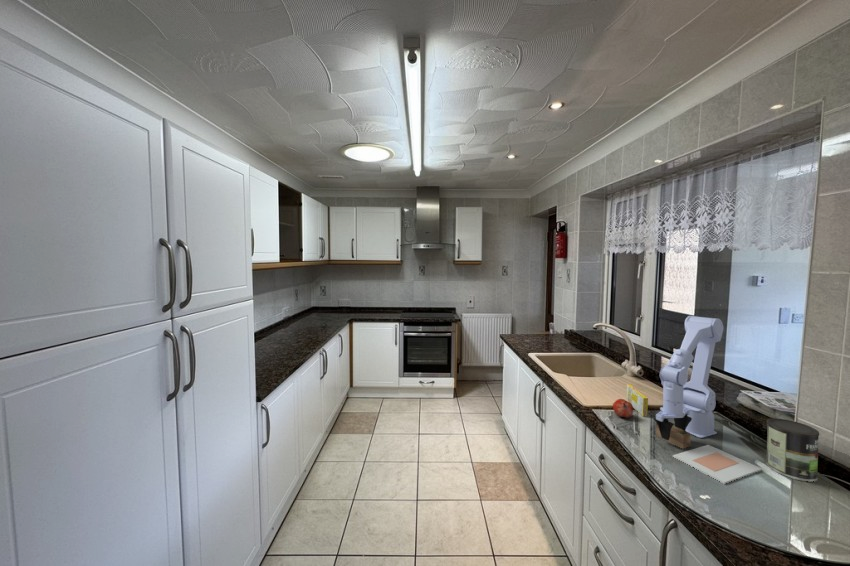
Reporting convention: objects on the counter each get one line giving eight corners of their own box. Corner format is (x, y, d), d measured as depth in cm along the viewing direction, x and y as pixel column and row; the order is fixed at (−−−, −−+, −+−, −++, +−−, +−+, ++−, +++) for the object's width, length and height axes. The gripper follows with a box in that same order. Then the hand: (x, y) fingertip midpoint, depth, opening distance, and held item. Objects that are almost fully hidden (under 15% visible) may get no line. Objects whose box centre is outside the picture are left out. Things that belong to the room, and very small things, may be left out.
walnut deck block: (663, 434, 117) (663, 421, 117) (690, 447, 109) (690, 433, 109) (655, 436, 116) (656, 423, 116) (682, 449, 108) (682, 435, 107)
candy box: (648, 417, 131) (648, 398, 130) (642, 417, 131) (642, 397, 131) (630, 401, 147) (631, 384, 146) (625, 401, 147) (626, 383, 147)
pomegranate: (610, 416, 136) (612, 410, 129) (612, 400, 139) (614, 393, 132) (631, 422, 132) (633, 417, 125) (632, 406, 135) (635, 399, 128)
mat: (708, 446, 109) (708, 444, 109) (761, 470, 96) (761, 468, 96) (672, 457, 103) (672, 455, 103) (724, 484, 90) (724, 482, 90)
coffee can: (823, 476, 93) (825, 430, 92) (809, 486, 88) (810, 438, 88) (774, 457, 102) (775, 415, 101) (759, 465, 98) (760, 422, 97)
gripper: (675, 393, 118) (674, 427, 118) (647, 398, 113) (647, 434, 114) (696, 400, 111) (695, 437, 112) (667, 406, 107) (667, 445, 107)
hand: (672, 436), depth 112 cm, fingers open, 7 cm apart
